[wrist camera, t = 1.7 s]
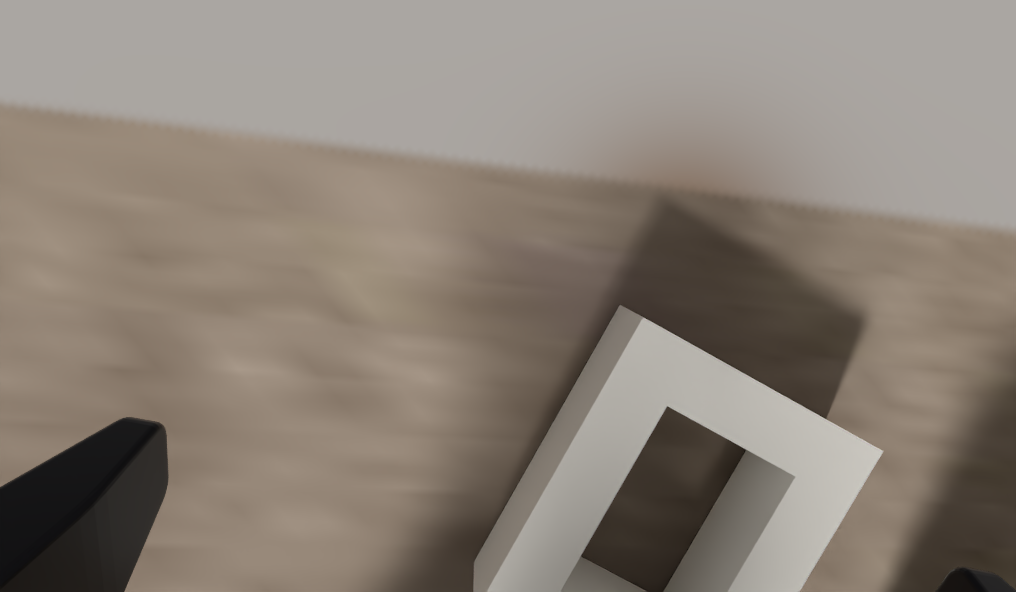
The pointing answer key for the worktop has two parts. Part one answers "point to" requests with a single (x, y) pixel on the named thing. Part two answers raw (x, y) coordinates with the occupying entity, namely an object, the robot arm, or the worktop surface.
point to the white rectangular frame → (621, 437)
